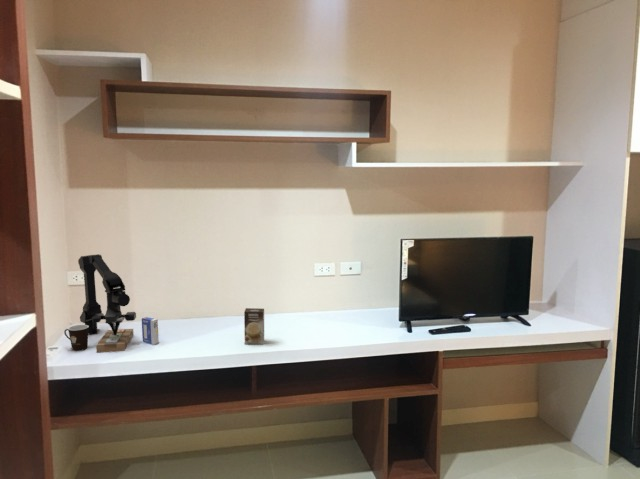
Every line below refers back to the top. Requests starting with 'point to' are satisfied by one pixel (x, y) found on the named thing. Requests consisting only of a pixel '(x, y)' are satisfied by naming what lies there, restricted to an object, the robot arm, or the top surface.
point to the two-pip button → (120, 331)
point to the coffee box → (254, 326)
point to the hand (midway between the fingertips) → (115, 334)
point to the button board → (115, 347)
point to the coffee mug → (78, 337)
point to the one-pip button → (112, 340)
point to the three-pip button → (115, 335)
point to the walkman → (150, 330)
